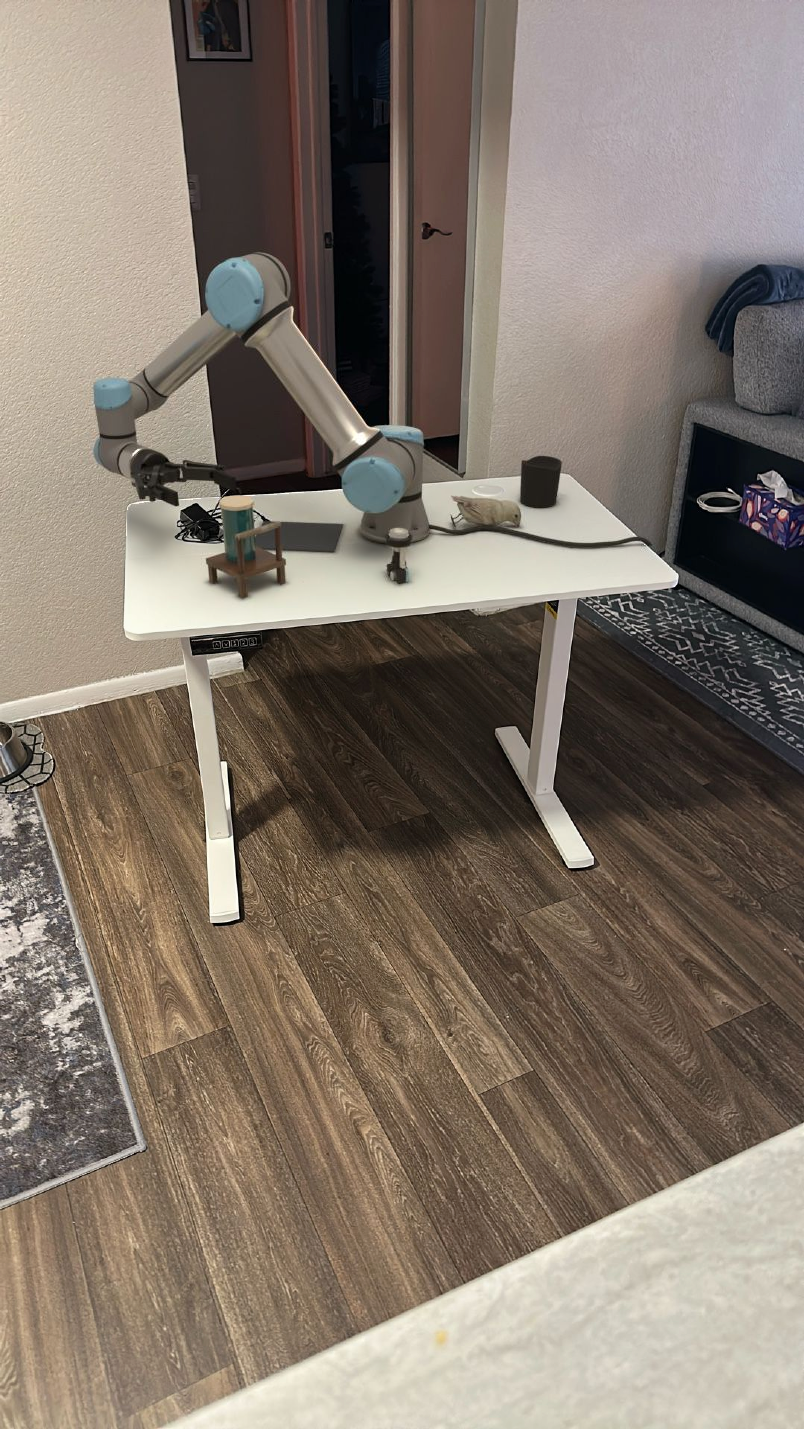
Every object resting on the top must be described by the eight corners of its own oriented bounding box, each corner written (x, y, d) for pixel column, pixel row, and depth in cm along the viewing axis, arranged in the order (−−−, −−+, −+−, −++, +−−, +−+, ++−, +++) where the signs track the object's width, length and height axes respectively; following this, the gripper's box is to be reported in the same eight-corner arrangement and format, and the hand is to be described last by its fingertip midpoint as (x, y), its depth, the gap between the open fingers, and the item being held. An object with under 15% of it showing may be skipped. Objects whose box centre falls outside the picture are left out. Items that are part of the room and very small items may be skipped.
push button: (376, 574, 191) (376, 527, 186) (398, 569, 193) (399, 522, 188) (394, 586, 186) (394, 538, 181) (416, 580, 189) (417, 532, 183)
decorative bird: (522, 531, 213) (524, 498, 209) (450, 532, 212) (452, 500, 208) (517, 522, 217) (520, 490, 213) (448, 523, 216) (449, 491, 212)
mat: (342, 525, 214) (342, 523, 214) (334, 552, 201) (333, 550, 200) (263, 522, 215) (263, 521, 215) (249, 549, 201) (249, 547, 201)
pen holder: (559, 509, 225) (564, 467, 220) (520, 508, 225) (523, 467, 220) (554, 496, 233) (559, 455, 228) (516, 495, 233) (519, 455, 228)
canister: (260, 550, 188) (256, 495, 182) (254, 563, 182) (249, 507, 176) (228, 549, 188) (223, 494, 182) (221, 562, 183) (215, 506, 177)
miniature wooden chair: (207, 582, 187) (201, 520, 180) (252, 566, 193) (248, 507, 187) (242, 599, 180) (237, 536, 174) (287, 582, 187) (283, 521, 180)
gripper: (197, 471, 207) (258, 495, 195) (94, 497, 192) (153, 525, 180) (194, 437, 203) (255, 459, 191) (89, 460, 188) (148, 486, 176)
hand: (206, 491), depth 185 cm, fingers open, 13 cm apart
